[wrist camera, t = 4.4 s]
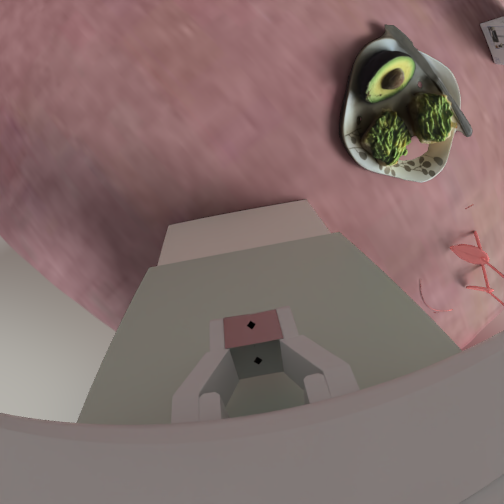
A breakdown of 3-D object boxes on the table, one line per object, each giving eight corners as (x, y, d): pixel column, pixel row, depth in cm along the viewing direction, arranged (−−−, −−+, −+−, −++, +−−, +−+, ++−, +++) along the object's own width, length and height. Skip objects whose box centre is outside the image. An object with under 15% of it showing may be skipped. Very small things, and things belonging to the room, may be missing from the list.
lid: (151, 276, 26) (148, 267, 25) (339, 240, 26) (339, 232, 26) (67, 492, 7) (55, 482, 7) (497, 412, 7) (504, 399, 7)
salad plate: (475, 79, 28) (497, 83, 24) (443, 193, 36) (463, 206, 32) (359, 15, 24) (378, 8, 20) (325, 158, 33) (340, 169, 29)
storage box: (168, 225, 34) (155, 274, 26) (306, 199, 34) (335, 240, 26) (208, 343, 45) (209, 397, 36) (312, 324, 45) (331, 374, 36)
